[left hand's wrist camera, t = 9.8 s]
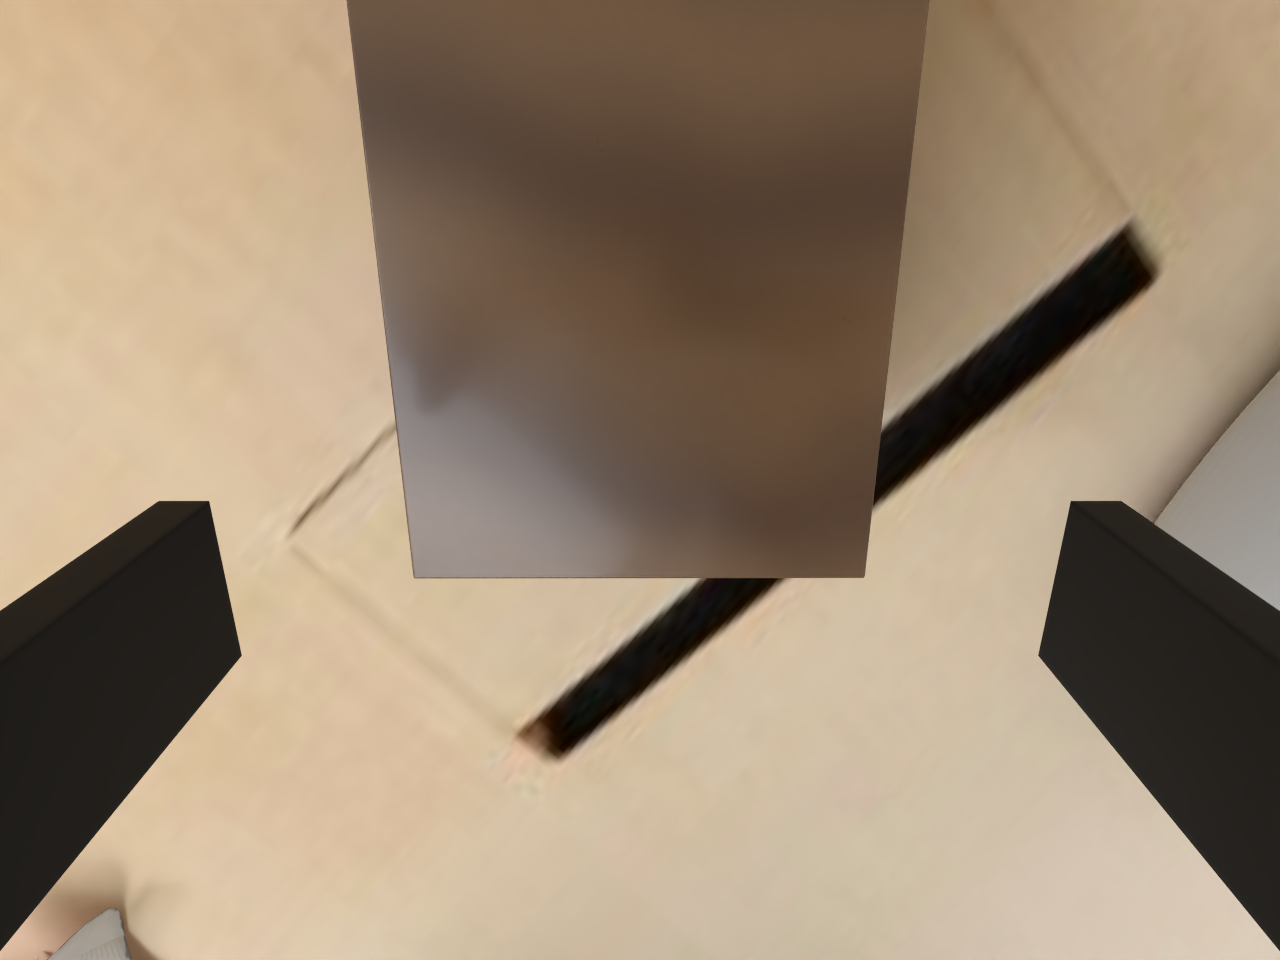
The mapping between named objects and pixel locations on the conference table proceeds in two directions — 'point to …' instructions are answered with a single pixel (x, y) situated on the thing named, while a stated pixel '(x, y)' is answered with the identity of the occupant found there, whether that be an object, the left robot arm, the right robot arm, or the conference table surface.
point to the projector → (1237, 500)
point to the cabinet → (638, 276)
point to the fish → (97, 940)
